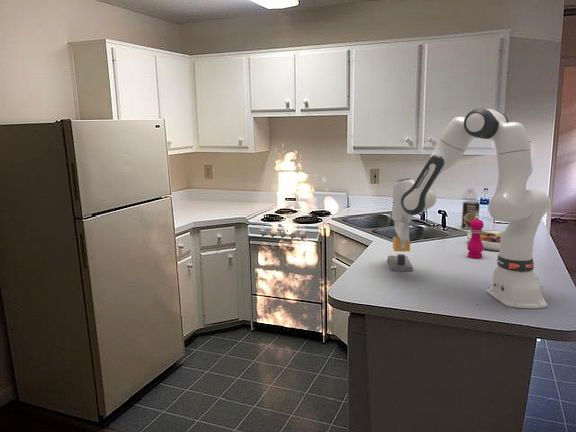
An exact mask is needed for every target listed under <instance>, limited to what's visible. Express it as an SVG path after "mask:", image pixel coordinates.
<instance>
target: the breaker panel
mask: <svg viewBox="0 0 576 432" xmlns="http://www.w3.org/2000/svg"><path fill="white" fill-rule="evenodd" d="M387 261H388V262H387V263H388V264H389V268H390V270H391V271H392V272H413V270H414V269H413V268H414V266H413V264H412V263H411V261H410V259H409V257H408V255H405V264H398V263H397V255H395V254H390V255H387Z"/></svg>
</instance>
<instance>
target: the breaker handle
mask: <svg viewBox="0 0 576 432" xmlns="http://www.w3.org/2000/svg"><path fill="white" fill-rule="evenodd" d="M396 256H397V263H398V264H405V256H406V255H405V254H401V253H399V254H397V255H396Z"/></svg>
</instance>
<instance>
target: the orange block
mask: <svg viewBox="0 0 576 432" xmlns="http://www.w3.org/2000/svg"><path fill="white" fill-rule="evenodd" d="M400 244H401V241H400V239H399V237H398V236H393V237H392V250H393V251H394V252H410V250H411V240H410V238H409V240H408V241H406V243H405V248H404V249H401V247H400Z"/></svg>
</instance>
